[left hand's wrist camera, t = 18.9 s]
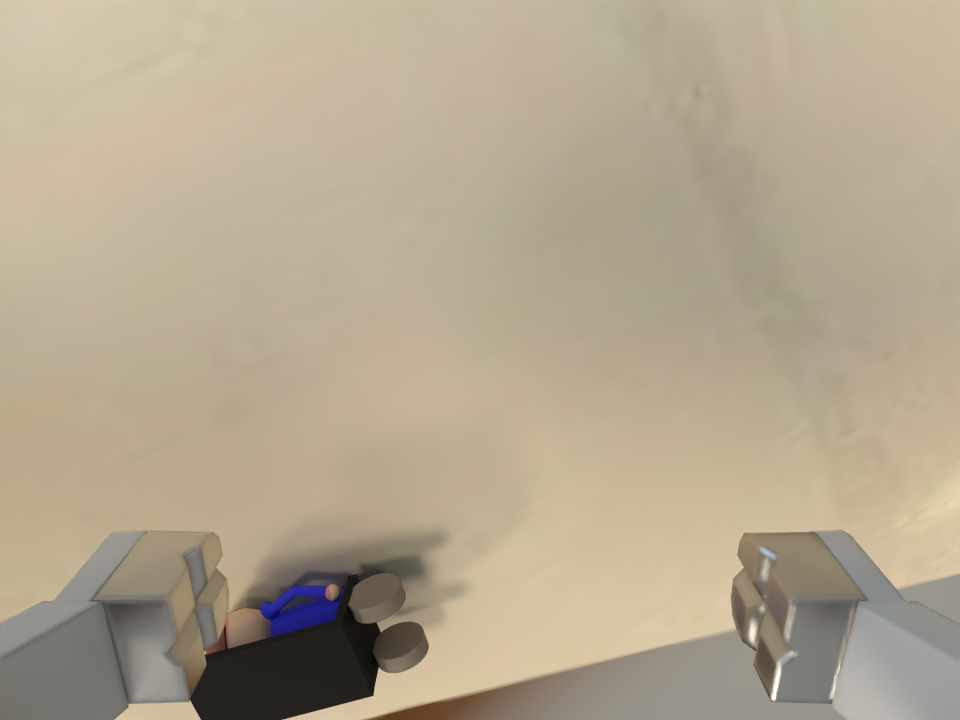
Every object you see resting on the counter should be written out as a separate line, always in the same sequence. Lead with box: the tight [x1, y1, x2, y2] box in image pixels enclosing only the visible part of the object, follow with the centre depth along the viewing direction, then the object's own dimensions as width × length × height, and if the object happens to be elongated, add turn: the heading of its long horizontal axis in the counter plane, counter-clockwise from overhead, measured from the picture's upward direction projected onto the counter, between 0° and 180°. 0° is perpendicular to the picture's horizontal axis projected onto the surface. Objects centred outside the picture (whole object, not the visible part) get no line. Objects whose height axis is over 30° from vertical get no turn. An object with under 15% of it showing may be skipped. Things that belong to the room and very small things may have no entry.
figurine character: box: [190, 571, 429, 720], centre depth 46 cm, size 7×8×15 cm
